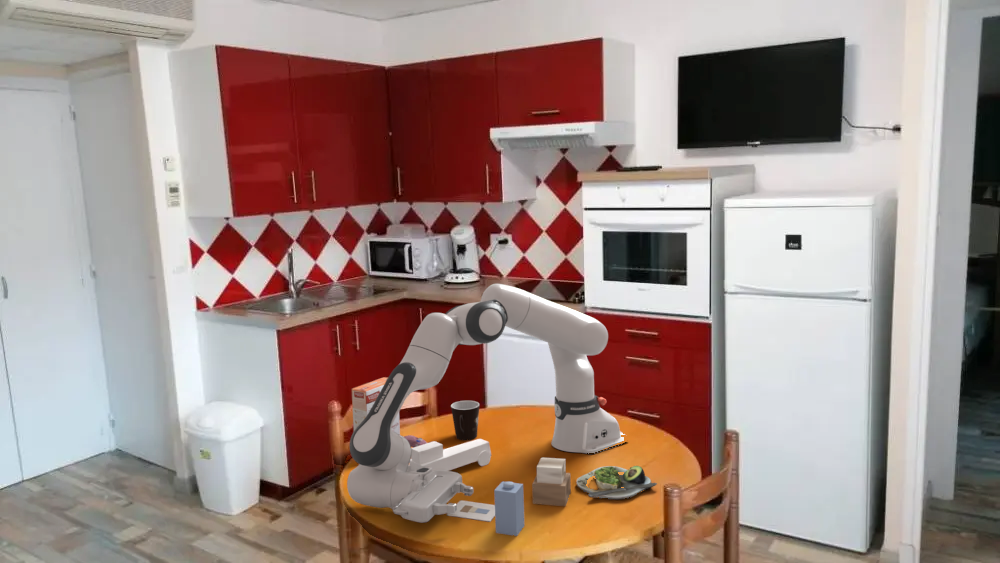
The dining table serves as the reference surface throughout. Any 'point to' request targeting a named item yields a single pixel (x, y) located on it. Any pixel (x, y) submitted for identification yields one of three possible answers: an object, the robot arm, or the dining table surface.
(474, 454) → the toy truck
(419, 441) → the video game controller
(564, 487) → the tower base
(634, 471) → the salad plate
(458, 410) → the coffee mug
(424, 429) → the dining table surface
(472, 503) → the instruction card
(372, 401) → the cracker box
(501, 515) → the blue brick
